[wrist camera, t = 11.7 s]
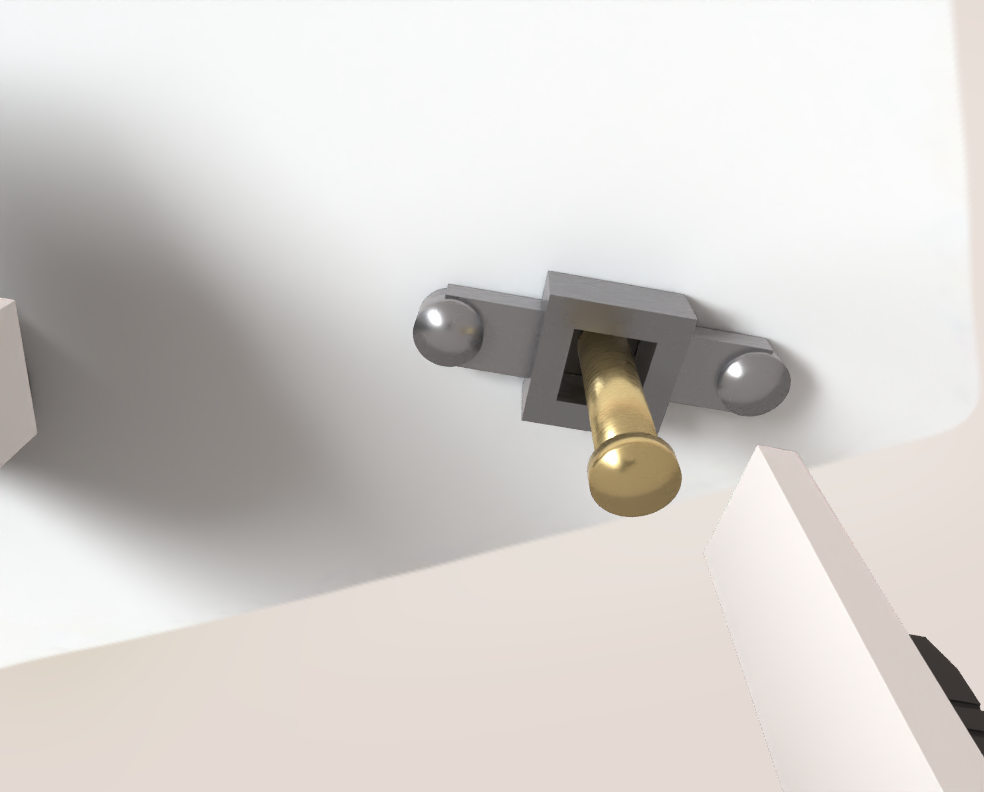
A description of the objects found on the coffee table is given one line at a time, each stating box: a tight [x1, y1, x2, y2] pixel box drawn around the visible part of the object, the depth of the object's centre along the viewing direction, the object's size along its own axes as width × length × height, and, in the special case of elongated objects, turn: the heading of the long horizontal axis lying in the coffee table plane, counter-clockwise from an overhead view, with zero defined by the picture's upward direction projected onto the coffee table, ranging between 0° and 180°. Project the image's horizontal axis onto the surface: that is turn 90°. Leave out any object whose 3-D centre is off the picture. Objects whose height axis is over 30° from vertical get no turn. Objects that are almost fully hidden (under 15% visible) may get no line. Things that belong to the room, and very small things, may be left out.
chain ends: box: [413, 271, 791, 434], centre depth 39 cm, size 22×8×4 cm, turn 81°
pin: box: [577, 331, 682, 517], centre depth 35 cm, size 4×4×13 cm
